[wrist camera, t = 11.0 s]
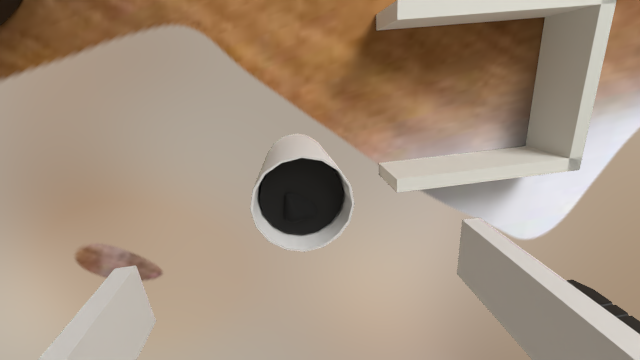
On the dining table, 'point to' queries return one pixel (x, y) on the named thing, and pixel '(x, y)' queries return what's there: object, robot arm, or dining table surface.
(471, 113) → the dining table surface
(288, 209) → the white cup
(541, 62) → the u-shaped frame
